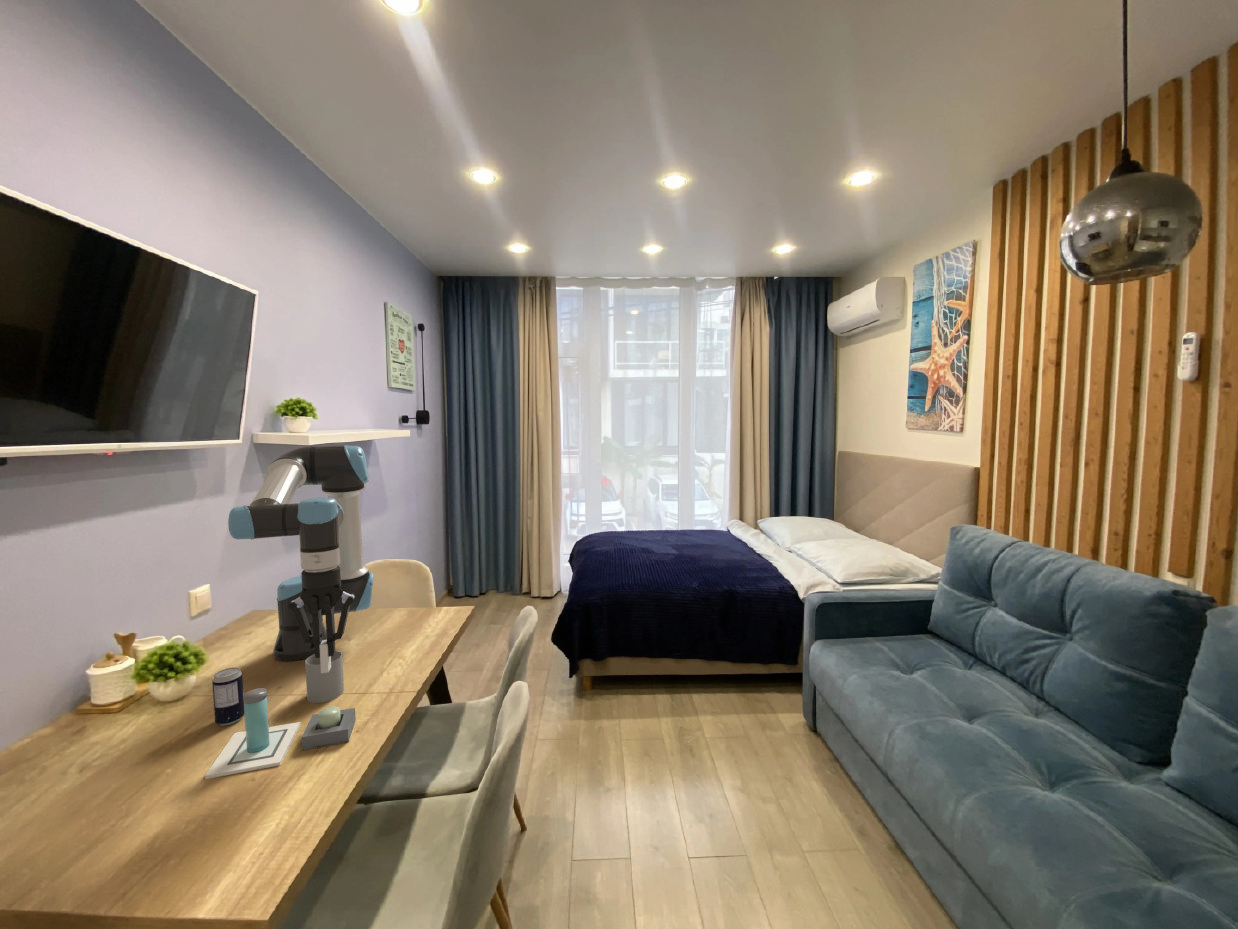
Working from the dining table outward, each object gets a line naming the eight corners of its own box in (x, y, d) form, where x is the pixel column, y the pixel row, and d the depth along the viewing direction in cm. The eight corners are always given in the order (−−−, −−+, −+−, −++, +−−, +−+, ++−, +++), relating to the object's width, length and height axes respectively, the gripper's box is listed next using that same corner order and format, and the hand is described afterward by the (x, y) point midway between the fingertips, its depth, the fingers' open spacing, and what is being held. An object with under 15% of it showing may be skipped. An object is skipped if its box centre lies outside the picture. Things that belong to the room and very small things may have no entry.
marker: (250, 743, 111) (247, 690, 110) (272, 739, 112) (269, 687, 111) (243, 755, 107) (240, 699, 106) (266, 750, 108) (262, 696, 107)
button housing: (312, 727, 118) (312, 714, 118) (355, 719, 121) (355, 707, 121) (302, 750, 109) (301, 737, 109) (348, 742, 112) (347, 729, 112)
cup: (327, 704, 127) (325, 666, 127) (299, 701, 129) (297, 663, 128) (351, 687, 136) (349, 651, 135) (324, 684, 137) (322, 649, 137)
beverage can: (250, 716, 122) (247, 668, 122) (226, 729, 117) (222, 680, 116) (234, 712, 124) (231, 665, 123) (209, 725, 119) (206, 676, 118)
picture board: (235, 735, 115) (234, 732, 115) (300, 724, 119) (300, 721, 119) (204, 779, 101) (204, 775, 101) (280, 765, 105) (280, 761, 105)
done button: (321, 721, 116) (320, 708, 116) (342, 718, 118) (341, 705, 117) (316, 732, 112) (315, 718, 112) (338, 728, 114) (337, 715, 113)
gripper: (281, 575, 106) (287, 682, 108) (350, 569, 111) (355, 673, 112) (292, 566, 114) (297, 667, 115) (356, 560, 118) (360, 658, 119)
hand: (326, 670), depth 114 cm, fingers closed
